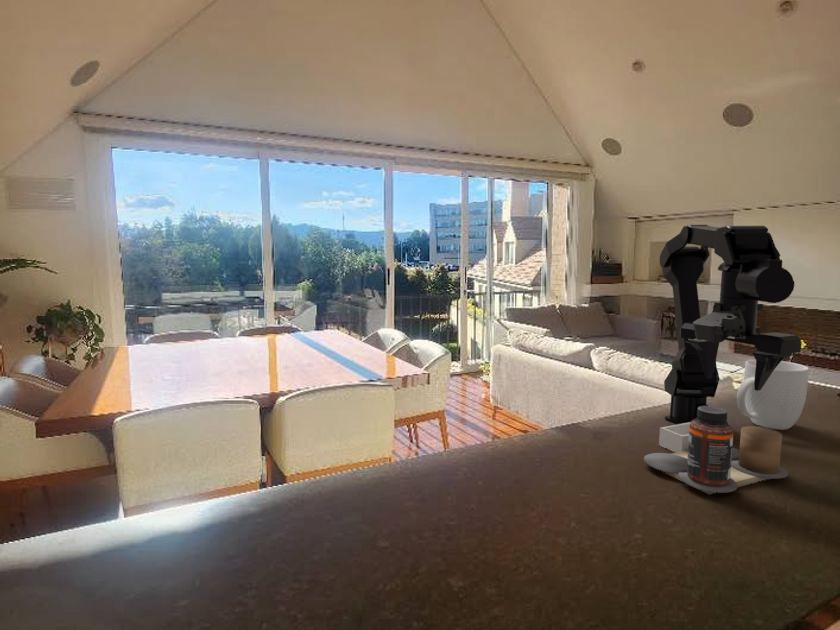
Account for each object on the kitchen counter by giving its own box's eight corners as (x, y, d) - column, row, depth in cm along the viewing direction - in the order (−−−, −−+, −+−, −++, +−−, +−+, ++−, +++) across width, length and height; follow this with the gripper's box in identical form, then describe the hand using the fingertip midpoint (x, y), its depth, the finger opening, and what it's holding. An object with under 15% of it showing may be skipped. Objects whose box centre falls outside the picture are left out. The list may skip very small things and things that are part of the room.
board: (633, 463, 87) (635, 423, 86) (713, 446, 95) (716, 409, 94) (712, 503, 73) (715, 456, 73) (798, 479, 81) (803, 436, 80)
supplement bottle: (739, 484, 77) (745, 413, 75) (709, 490, 75) (715, 417, 73) (705, 468, 82) (710, 402, 81) (677, 474, 80) (682, 405, 79)
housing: (658, 445, 95) (659, 427, 95) (689, 439, 99) (690, 422, 98) (681, 455, 91) (682, 436, 90) (712, 448, 94) (713, 430, 94)
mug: (762, 438, 99) (767, 374, 97) (714, 420, 109) (718, 362, 108) (816, 430, 103) (822, 368, 102) (765, 414, 114) (770, 357, 112)
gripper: (661, 295, 94) (656, 376, 96) (761, 304, 77) (753, 403, 79) (703, 293, 98) (698, 371, 100) (807, 301, 81) (798, 395, 83)
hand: (732, 383), depth 90 cm, fingers open, 9 cm apart
